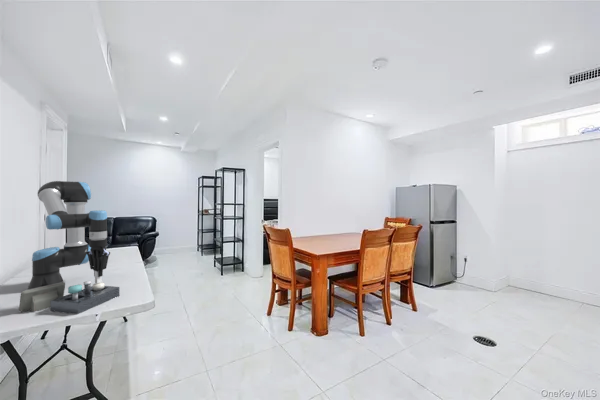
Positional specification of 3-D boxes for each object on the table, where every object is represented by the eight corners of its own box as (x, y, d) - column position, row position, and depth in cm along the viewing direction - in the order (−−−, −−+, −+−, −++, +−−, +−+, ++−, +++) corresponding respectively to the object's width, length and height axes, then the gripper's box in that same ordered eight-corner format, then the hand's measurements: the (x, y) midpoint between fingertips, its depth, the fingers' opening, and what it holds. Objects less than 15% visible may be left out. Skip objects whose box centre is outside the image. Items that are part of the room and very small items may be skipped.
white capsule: (82, 294, 129) (82, 282, 129) (87, 292, 132) (87, 280, 132) (86, 294, 128) (86, 283, 128) (92, 292, 131) (92, 281, 131)
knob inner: (90, 298, 134) (90, 285, 134) (99, 295, 139) (99, 282, 139) (98, 299, 133) (98, 285, 133) (106, 295, 138) (106, 282, 138)
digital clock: (64, 299, 135) (64, 279, 134) (66, 304, 129) (66, 283, 128) (18, 309, 122) (18, 288, 122) (19, 315, 116) (18, 292, 116)
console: (50, 311, 121) (50, 300, 121) (95, 293, 143) (95, 285, 142) (78, 314, 118) (77, 303, 118) (119, 295, 140) (119, 286, 140)
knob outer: (65, 302, 122) (65, 287, 122) (76, 298, 127) (76, 284, 127) (74, 303, 121) (73, 288, 121) (84, 299, 126) (84, 285, 126)
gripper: (81, 239, 133) (81, 283, 134) (101, 240, 131) (101, 285, 131) (95, 237, 141) (95, 279, 141) (114, 238, 138) (114, 280, 139)
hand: (98, 282), depth 136 cm, fingers closed
